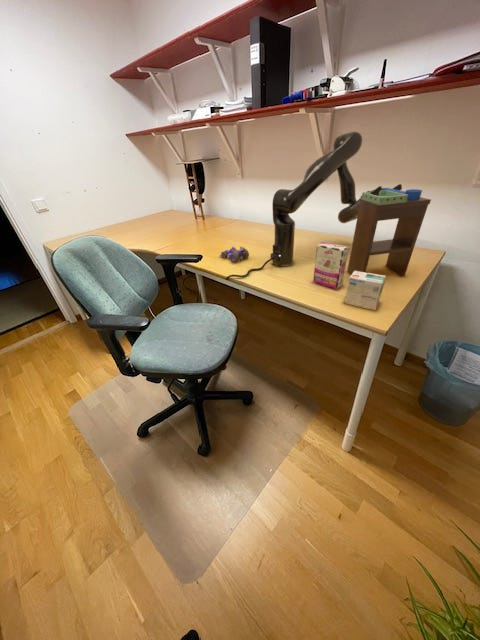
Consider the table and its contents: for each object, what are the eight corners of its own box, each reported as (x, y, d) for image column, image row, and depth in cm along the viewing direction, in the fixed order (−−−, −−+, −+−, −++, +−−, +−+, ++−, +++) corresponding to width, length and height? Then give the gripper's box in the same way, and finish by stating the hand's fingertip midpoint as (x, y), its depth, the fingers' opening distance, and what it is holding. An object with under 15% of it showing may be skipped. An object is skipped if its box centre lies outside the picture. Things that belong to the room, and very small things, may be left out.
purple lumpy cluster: (230, 252, 145) (229, 241, 141) (249, 258, 136) (248, 246, 132) (217, 257, 140) (216, 246, 136) (236, 264, 131) (235, 252, 127)
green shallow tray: (406, 202, 89) (408, 194, 88) (379, 205, 88) (381, 197, 87) (385, 196, 99) (387, 189, 98) (361, 199, 98) (362, 192, 97)
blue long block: (422, 199, 91) (425, 190, 90) (410, 200, 91) (412, 192, 89) (388, 191, 107) (390, 184, 106) (377, 192, 107) (379, 185, 105)
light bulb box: (379, 302, 93) (387, 275, 87) (375, 311, 88) (383, 283, 82) (348, 295, 98) (354, 269, 92) (343, 303, 94) (349, 276, 87)
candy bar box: (342, 285, 105) (350, 246, 95) (336, 290, 102) (343, 250, 93) (318, 278, 112) (323, 241, 102) (312, 282, 109) (316, 244, 99)
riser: (405, 276, 107) (431, 199, 90) (360, 282, 106) (378, 205, 88) (387, 265, 117) (407, 194, 100) (346, 271, 115) (359, 199, 98)
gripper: (351, 196, 117) (373, 179, 101) (380, 193, 119) (406, 176, 102) (353, 212, 118) (375, 199, 102) (382, 209, 119) (408, 195, 103)
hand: (391, 187), depth 102 cm, fingers open, 8 cm apart
